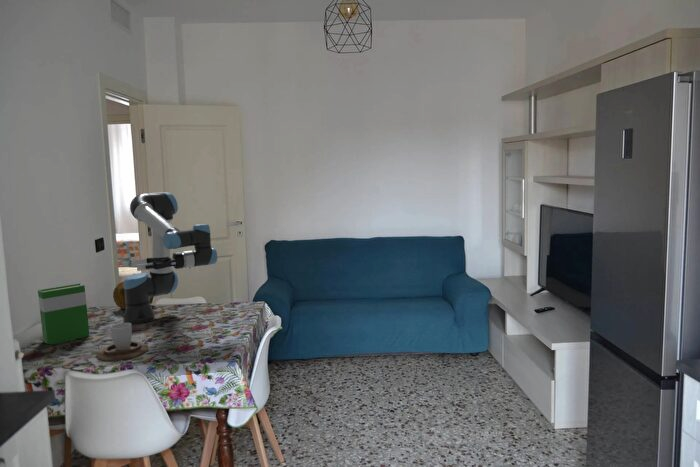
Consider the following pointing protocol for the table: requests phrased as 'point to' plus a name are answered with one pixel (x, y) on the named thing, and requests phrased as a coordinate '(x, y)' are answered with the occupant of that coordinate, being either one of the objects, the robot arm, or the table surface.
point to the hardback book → (63, 313)
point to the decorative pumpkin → (121, 296)
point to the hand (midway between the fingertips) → (134, 265)
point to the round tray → (116, 358)
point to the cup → (122, 335)
